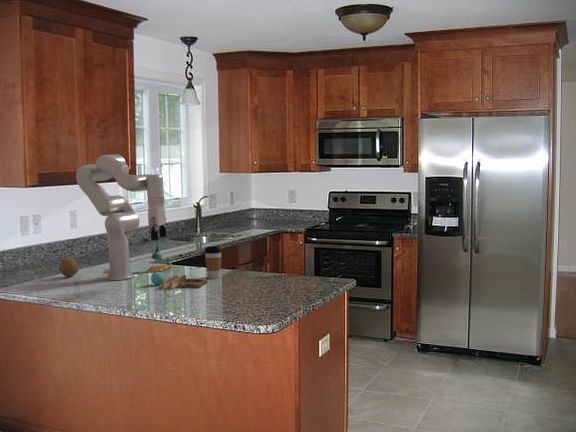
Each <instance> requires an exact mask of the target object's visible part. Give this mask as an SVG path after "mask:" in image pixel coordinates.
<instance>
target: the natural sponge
mask: <svg viewBox="0 0 576 432" xmlns="http://www.w3.org/2000/svg"><path fill="white" fill-rule="evenodd" d="M58 266H59V267H58V271H59V272H60V274H61V275H63V276H64V277H66V278H68V279H69V278H72V277H73V276H74V275H76V274H78V272H79V266H78V264H77V262H76V260H75V259H73V258H71V257H65V258H62V260H61V261H60V262H59V265H58Z"/></svg>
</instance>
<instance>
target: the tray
mask: <svg viewBox="0 0 576 432" xmlns="http://www.w3.org/2000/svg"><path fill="white" fill-rule="evenodd" d="M206 283H207V284H208V279H207V278H186V279H185V280H184V281H182V282H180V283H179V286H178V288H186V287H187V288H190V289H191V288H192V289H195V288H196V289H200V288H201V287H203V286H205V285H206Z"/></svg>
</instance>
